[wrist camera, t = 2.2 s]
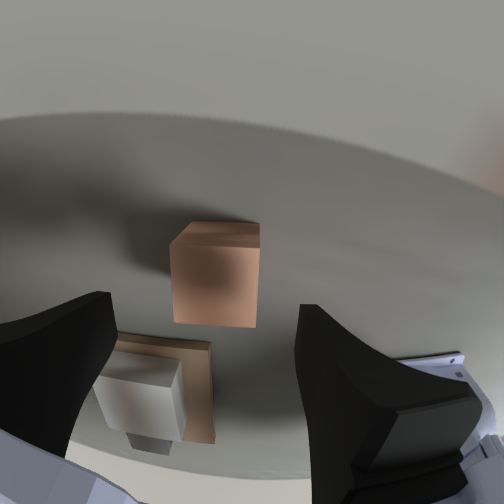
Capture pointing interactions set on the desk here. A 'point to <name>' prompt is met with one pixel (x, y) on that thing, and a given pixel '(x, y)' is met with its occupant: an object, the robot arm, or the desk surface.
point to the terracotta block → (216, 274)
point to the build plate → (192, 377)
